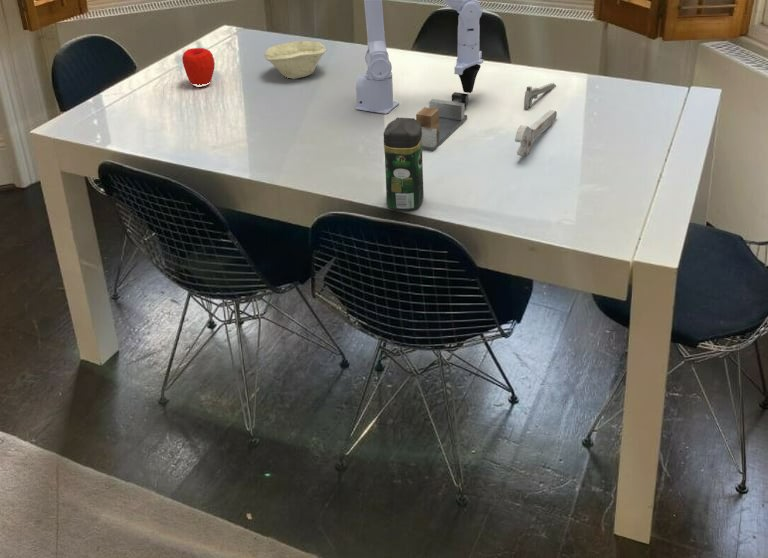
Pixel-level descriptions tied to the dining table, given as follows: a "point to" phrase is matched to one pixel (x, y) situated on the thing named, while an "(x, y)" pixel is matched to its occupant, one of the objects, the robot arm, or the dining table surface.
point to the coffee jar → (403, 164)
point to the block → (428, 118)
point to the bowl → (295, 57)
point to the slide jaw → (451, 106)
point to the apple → (198, 65)
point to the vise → (445, 130)
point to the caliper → (535, 94)
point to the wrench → (533, 132)
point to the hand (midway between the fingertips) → (467, 91)
